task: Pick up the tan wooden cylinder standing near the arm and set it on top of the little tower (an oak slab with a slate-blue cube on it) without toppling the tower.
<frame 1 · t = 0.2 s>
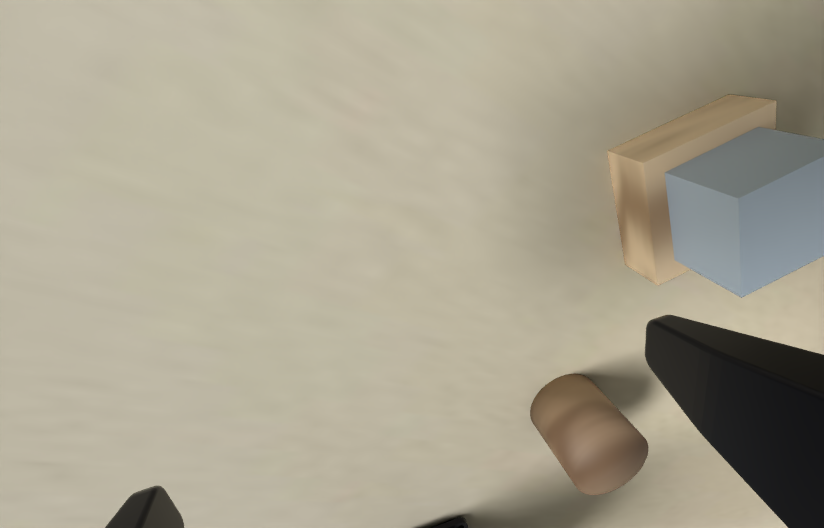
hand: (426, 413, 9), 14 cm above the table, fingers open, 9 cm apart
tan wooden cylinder: (563, 403, 31), on the table
base block: (669, 182, 26), on the table
top block: (714, 196, 23), point 3 cm above the table
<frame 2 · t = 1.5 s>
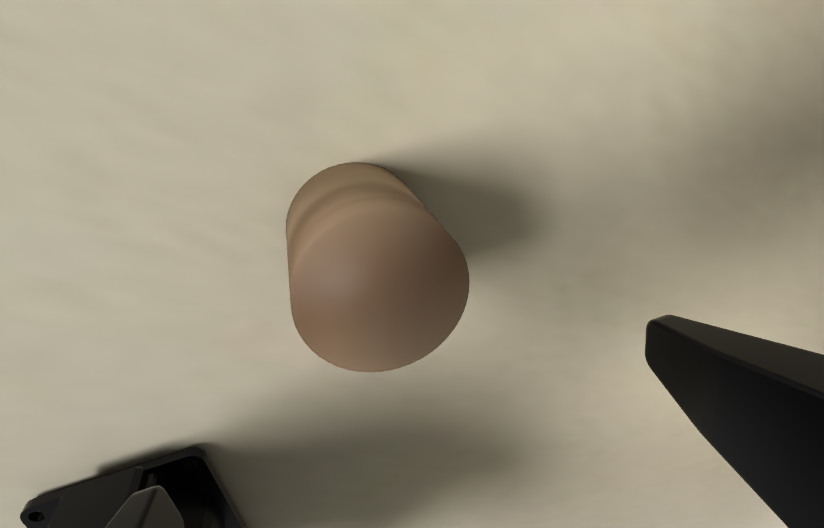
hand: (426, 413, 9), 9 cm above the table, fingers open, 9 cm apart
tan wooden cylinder: (354, 228, 17), on the table
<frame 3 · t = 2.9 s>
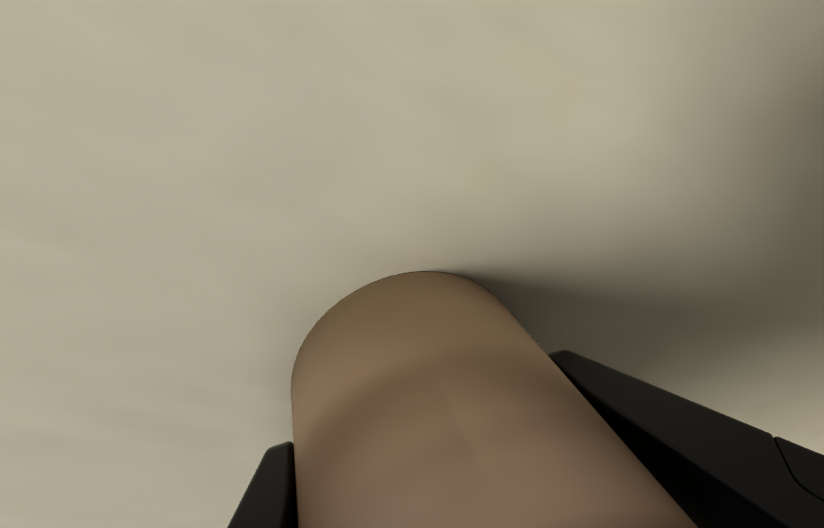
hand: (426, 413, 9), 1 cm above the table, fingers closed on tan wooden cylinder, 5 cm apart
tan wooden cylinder: (411, 377, 9), on the table, touching gripper
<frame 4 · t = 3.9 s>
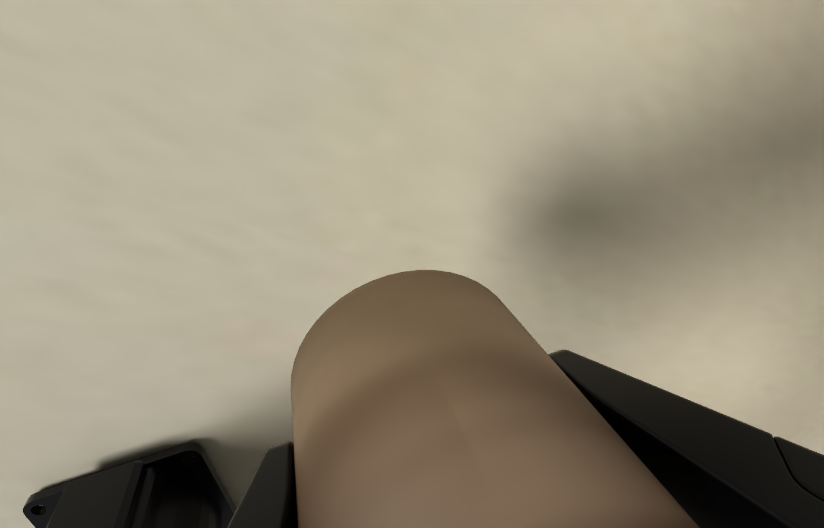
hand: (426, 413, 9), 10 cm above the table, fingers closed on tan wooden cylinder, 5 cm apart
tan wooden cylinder: (410, 375, 9), point 9 cm above the table, touching gripper
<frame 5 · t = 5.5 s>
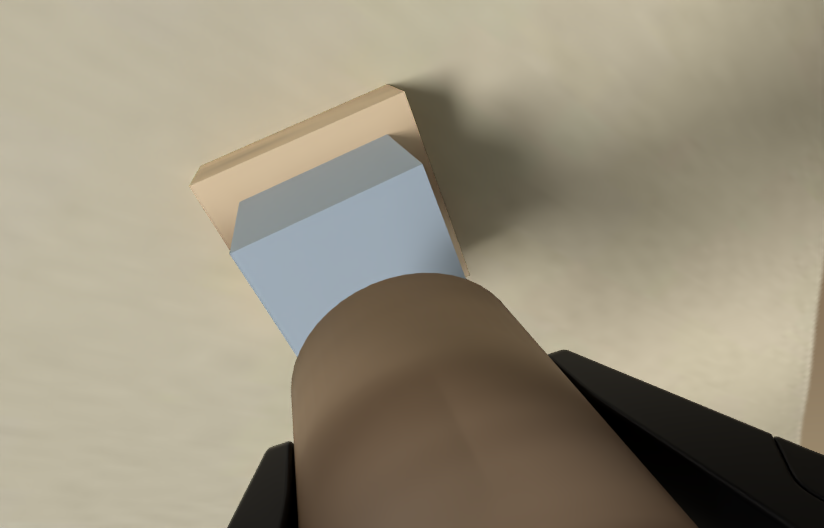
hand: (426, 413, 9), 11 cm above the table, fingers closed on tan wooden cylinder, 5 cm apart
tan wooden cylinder: (412, 379, 9), point 10 cm above the table, touching gripper
base block: (335, 208, 19), on the table, touching top block
top block: (347, 235, 16), point 3 cm above the table, touching base block
when the fingers open (9 cm above the table, at t = 6.3 s): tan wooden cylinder drops 1 cm, resting on top block.
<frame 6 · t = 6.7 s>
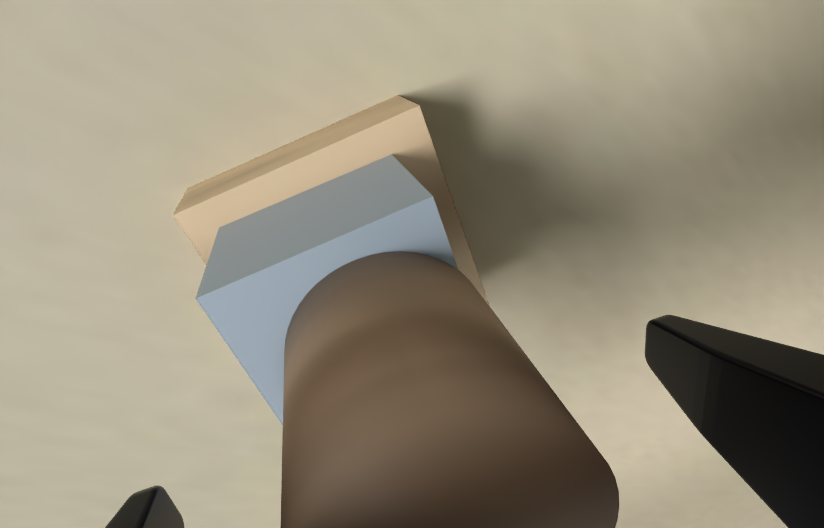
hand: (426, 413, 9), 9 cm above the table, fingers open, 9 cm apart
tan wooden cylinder: (390, 346, 11), point 7 cm above the table, touching top block
base block: (340, 231, 17), on the table, touching top block
top block: (343, 266, 14), point 3 cm above the table, touching base block, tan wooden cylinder
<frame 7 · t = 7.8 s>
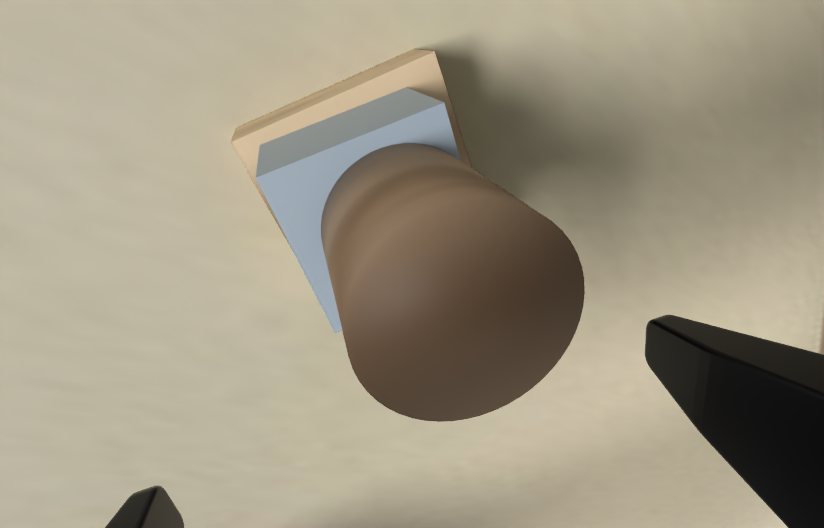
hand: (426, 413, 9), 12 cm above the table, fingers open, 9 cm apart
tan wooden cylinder: (405, 227, 13), point 7 cm above the table, touching top block
base block: (362, 172, 19), on the table, touching top block
top block: (361, 186, 17), point 3 cm above the table, touching base block, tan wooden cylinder
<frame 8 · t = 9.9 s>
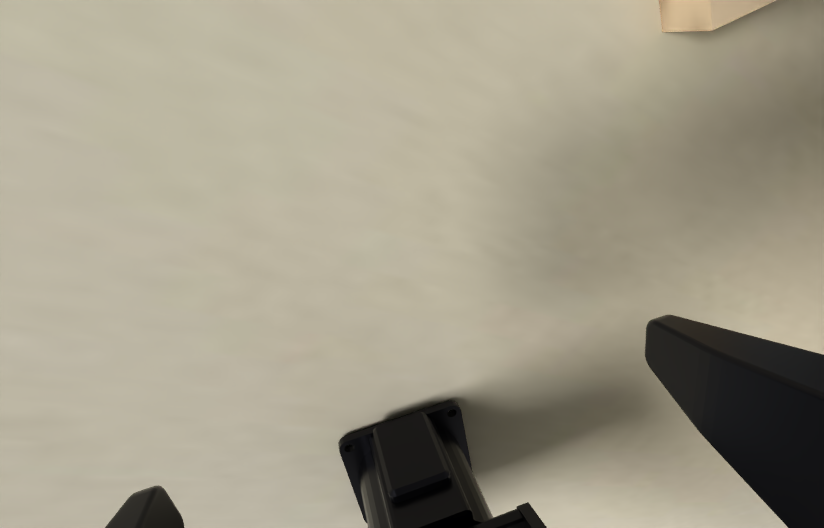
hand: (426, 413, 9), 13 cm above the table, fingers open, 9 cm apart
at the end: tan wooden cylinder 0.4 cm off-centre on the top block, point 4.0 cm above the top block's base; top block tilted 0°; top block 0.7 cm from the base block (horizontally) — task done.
